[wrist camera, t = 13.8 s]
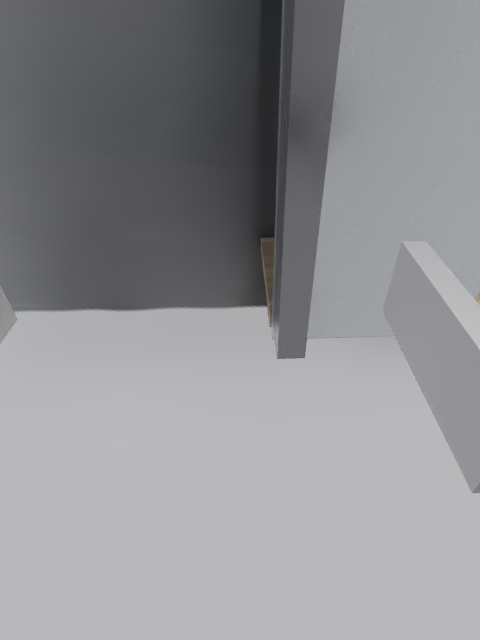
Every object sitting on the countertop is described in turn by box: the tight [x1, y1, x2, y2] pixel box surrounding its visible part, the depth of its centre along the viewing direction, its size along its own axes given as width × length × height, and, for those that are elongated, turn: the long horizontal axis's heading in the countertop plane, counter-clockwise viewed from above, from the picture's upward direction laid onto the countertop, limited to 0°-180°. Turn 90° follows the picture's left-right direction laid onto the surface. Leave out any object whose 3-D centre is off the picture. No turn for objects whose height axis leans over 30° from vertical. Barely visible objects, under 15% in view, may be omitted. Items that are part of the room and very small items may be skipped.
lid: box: [272, 0, 480, 359], centre depth 18 cm, size 20×12×4 cm, turn 1°
